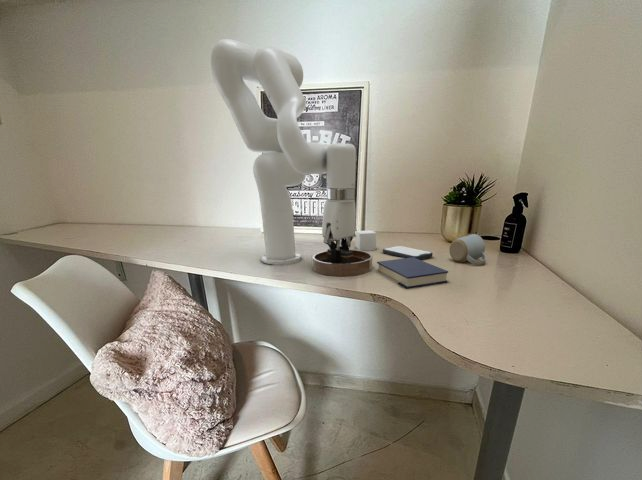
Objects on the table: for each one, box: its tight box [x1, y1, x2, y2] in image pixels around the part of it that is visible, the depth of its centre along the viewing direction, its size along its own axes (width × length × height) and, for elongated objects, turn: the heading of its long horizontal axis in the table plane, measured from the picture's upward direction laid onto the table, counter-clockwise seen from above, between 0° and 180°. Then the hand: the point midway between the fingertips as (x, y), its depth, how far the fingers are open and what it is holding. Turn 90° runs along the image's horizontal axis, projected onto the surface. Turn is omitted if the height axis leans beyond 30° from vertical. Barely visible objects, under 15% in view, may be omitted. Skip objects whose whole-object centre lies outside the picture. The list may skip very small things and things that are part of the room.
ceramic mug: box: [448, 233, 487, 266], centre depth 101 cm, size 11×8×8 cm
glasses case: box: [326, 248, 353, 264], centre depth 96 cm, size 7×3×4 cm, turn 52°
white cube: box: [355, 229, 377, 251], centre depth 121 cm, size 6×6×6 cm
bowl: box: [312, 249, 374, 277], centre depth 97 cm, size 17×17×4 cm
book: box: [376, 257, 449, 289], centre depth 89 cm, size 16×12×3 cm
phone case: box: [382, 245, 433, 260], centre depth 112 cm, size 9×2×16 cm
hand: (340, 261), depth 97 cm, fingers closed on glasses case, 3 cm apart
